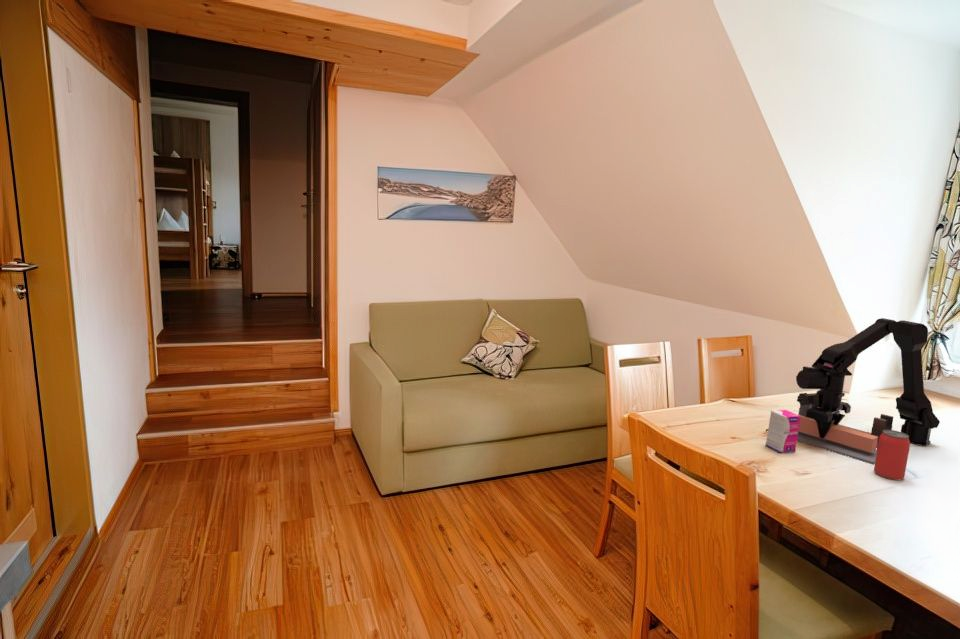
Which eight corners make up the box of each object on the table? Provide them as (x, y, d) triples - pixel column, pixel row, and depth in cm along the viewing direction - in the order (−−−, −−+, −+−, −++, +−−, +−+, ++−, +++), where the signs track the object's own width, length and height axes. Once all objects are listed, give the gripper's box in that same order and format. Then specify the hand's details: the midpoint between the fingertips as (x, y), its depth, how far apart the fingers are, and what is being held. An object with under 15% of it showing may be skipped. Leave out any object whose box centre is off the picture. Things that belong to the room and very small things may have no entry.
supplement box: (780, 453, 155) (785, 416, 153) (764, 446, 161) (769, 410, 159) (796, 452, 157) (801, 415, 155) (780, 444, 162) (785, 409, 160)
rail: (876, 449, 156) (878, 436, 155) (871, 452, 154) (873, 439, 153) (783, 422, 177) (785, 411, 176) (778, 425, 174) (779, 413, 174)
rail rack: (898, 445, 166) (902, 417, 164) (887, 451, 160) (892, 423, 158) (802, 418, 188) (805, 394, 186) (789, 423, 182) (792, 398, 180)
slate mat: (887, 455, 157) (888, 453, 157) (873, 464, 150) (873, 462, 150) (782, 424, 181) (782, 422, 181) (765, 431, 174) (765, 429, 174)
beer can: (874, 467, 148) (881, 427, 146) (904, 475, 144) (911, 433, 142) (872, 475, 143) (879, 433, 141) (903, 483, 138) (911, 440, 137)
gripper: (815, 378, 174) (809, 423, 177) (790, 386, 163) (784, 434, 166) (854, 386, 166) (847, 434, 168) (830, 395, 155) (823, 446, 157)
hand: (824, 436), depth 165 cm, fingers closed on rail, 4 cm apart
